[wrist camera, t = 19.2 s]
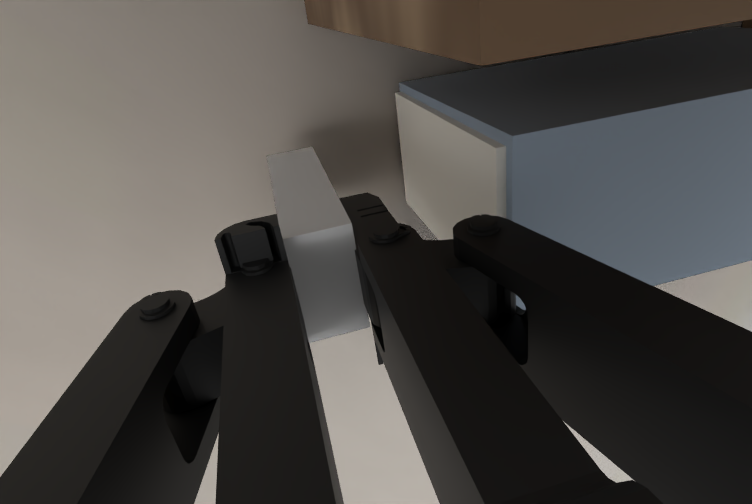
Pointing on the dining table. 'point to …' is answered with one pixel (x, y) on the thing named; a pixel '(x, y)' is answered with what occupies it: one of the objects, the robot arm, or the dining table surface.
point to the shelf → (518, 23)
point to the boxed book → (596, 151)
